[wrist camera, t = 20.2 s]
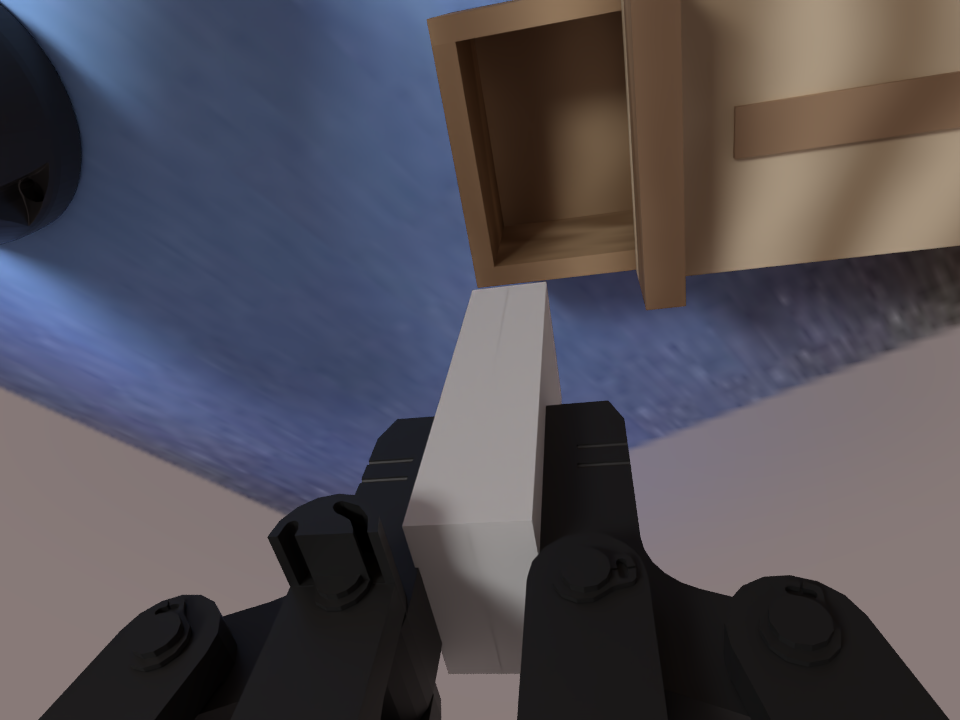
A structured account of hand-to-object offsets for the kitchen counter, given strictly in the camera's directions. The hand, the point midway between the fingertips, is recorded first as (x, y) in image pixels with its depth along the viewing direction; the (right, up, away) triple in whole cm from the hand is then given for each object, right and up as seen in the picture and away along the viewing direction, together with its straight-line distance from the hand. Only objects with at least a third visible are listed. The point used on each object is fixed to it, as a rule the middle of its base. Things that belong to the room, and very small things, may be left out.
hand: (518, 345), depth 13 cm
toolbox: (+8, +13, +20) cm, 25 cm away
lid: (+14, +10, +12) cm, 21 cm away
